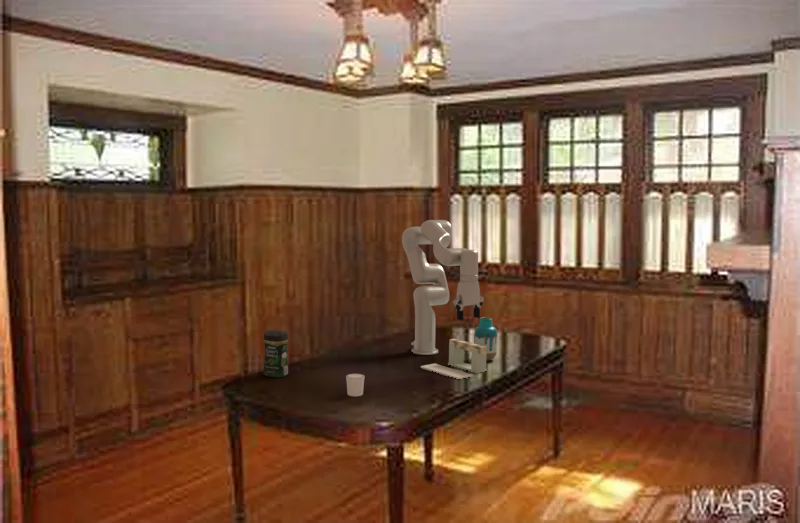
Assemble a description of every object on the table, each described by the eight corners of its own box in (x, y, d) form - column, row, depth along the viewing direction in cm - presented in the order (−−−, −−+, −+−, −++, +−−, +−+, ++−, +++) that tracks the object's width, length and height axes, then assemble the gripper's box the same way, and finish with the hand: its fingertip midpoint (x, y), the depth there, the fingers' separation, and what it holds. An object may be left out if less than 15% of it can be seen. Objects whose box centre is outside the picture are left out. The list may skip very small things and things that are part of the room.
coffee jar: (260, 376, 279) (259, 331, 278) (271, 372, 286) (271, 327, 285) (280, 379, 275) (280, 333, 274) (291, 374, 282) (291, 330, 281)
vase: (496, 363, 305) (497, 320, 303) (472, 362, 307) (473, 319, 306) (497, 358, 316) (498, 316, 314) (474, 356, 318) (475, 315, 316)
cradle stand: (447, 365, 301) (448, 342, 301) (457, 363, 305) (458, 340, 304) (476, 373, 287) (477, 349, 286) (487, 371, 291) (487, 348, 290)
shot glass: (345, 391, 259) (345, 373, 258) (364, 391, 259) (364, 373, 259) (346, 396, 252) (346, 378, 251) (364, 396, 252) (364, 377, 252)
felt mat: (420, 367, 296) (420, 366, 296) (434, 365, 301) (434, 363, 301) (458, 379, 277) (459, 377, 277) (473, 376, 282) (473, 374, 282)
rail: (449, 346, 303) (449, 339, 302) (454, 345, 304) (454, 338, 304) (481, 354, 287) (481, 347, 287) (486, 353, 289) (486, 346, 288)
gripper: (477, 276, 301) (476, 315, 302) (447, 279, 290) (447, 319, 292) (489, 278, 295) (489, 317, 297) (460, 280, 284) (459, 322, 286)
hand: (468, 318), depth 294 cm, fingers open, 9 cm apart
